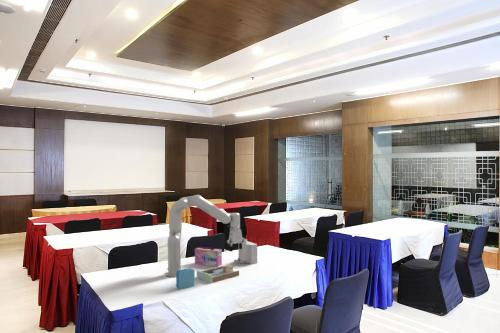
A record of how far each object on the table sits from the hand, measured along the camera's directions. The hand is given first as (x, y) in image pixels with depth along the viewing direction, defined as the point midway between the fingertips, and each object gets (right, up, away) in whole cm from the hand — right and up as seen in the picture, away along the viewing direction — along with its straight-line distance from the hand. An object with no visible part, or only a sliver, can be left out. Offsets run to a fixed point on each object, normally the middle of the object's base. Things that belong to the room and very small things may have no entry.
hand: (235, 250), depth 277 cm
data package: (-34, -18, -34) cm, 51 cm away
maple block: (-6, -15, -5) cm, 17 cm away
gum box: (-24, -18, +21) cm, 37 cm away
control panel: (+6, -17, +26) cm, 31 cm away
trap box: (-13, -17, -11) cm, 24 cm away
